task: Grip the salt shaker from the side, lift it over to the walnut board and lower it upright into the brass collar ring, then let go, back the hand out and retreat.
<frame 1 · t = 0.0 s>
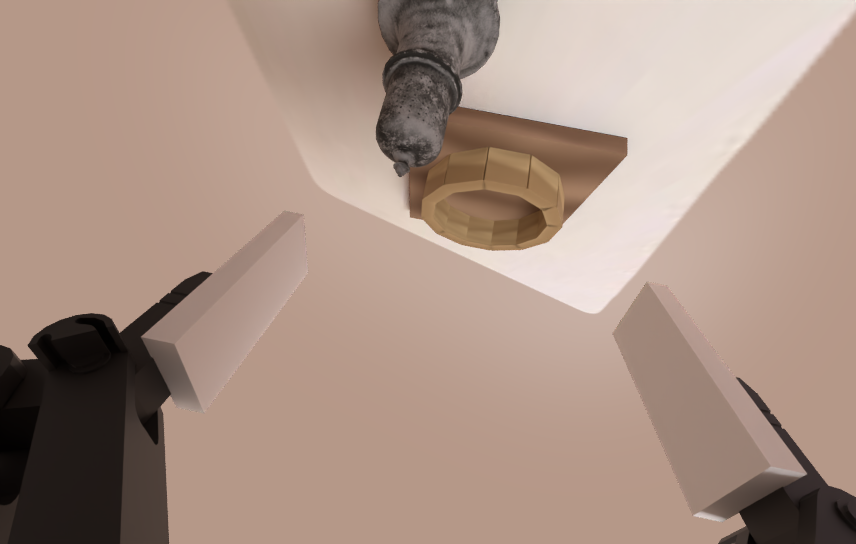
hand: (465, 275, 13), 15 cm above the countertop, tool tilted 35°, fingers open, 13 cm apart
collar stand: (494, 180, 32), on the countertop
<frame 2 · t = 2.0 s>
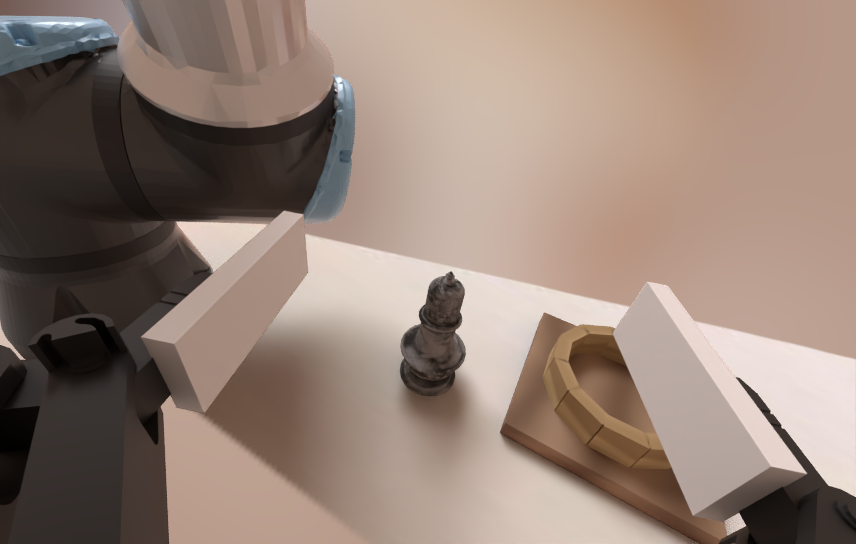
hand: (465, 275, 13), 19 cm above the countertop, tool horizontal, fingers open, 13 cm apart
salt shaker: (427, 372, 32), on the countertop
collar stand: (604, 406, 32), on the countertop
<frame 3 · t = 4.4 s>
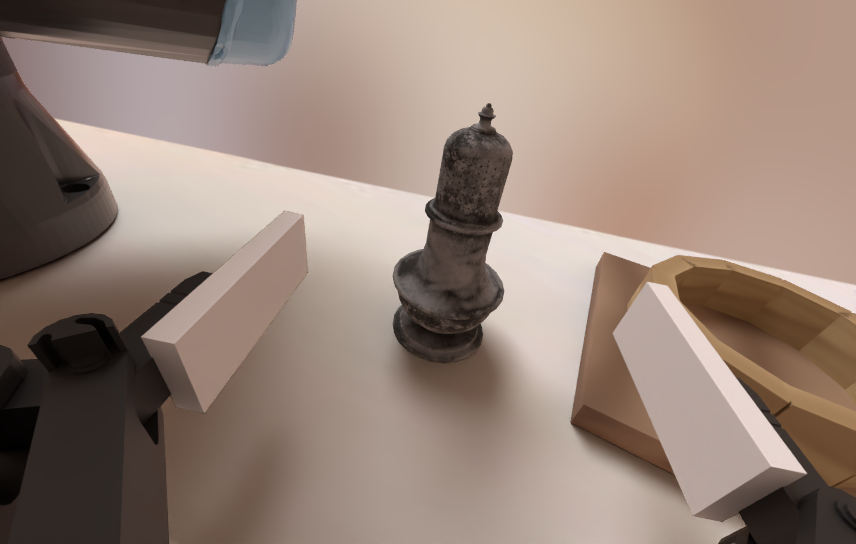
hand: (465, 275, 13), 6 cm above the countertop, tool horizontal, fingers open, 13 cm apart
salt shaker: (437, 328, 20), on the countertop
collar stand: (726, 380, 20), on the countertop
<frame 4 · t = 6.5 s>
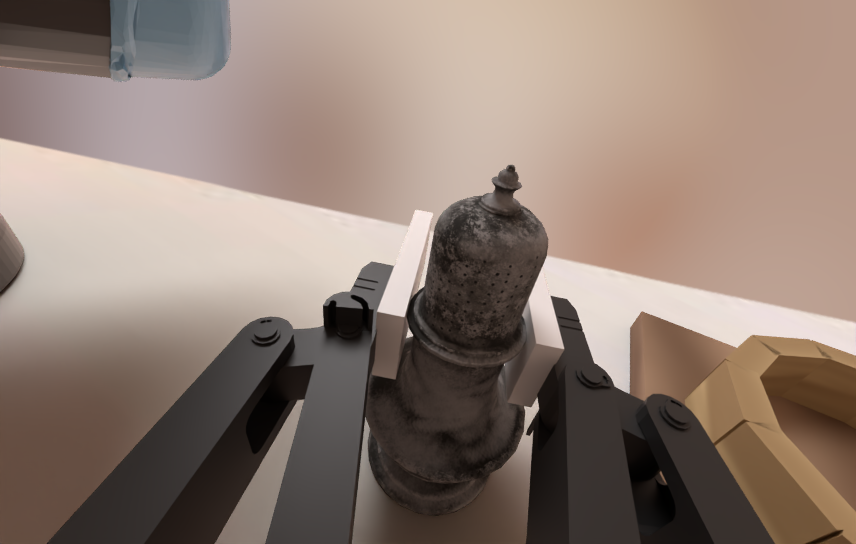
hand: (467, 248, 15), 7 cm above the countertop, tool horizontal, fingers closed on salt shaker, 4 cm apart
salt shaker: (430, 444, 14), on the countertop, touching gripper
collar stand: (831, 522, 14), on the countertop
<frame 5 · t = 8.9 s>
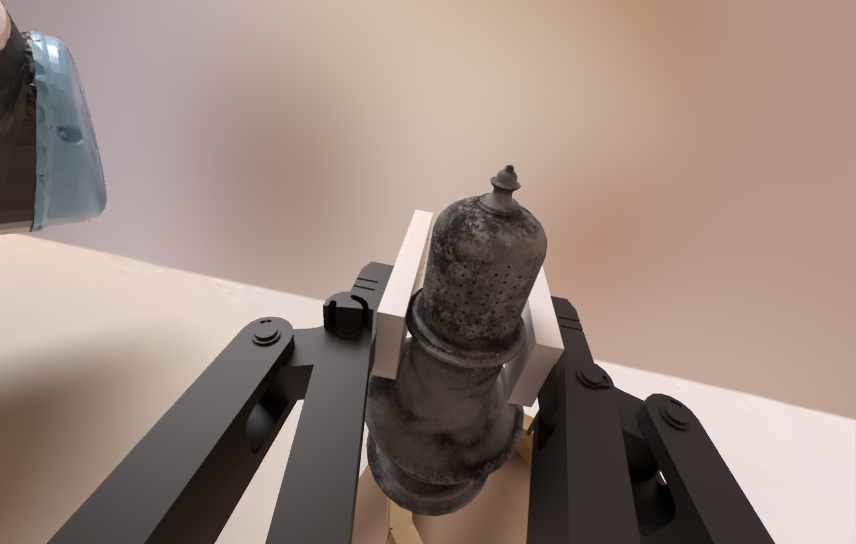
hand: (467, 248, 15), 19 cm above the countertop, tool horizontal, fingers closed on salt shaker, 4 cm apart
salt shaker: (428, 445, 14), point 12 cm above the countertop, touching gripper
collar stand: (476, 519, 23), on the countertop
when the fingers open (9 cm above the countertop, at t = 11.1 s): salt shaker drops 1 cm, resting on collar stand.
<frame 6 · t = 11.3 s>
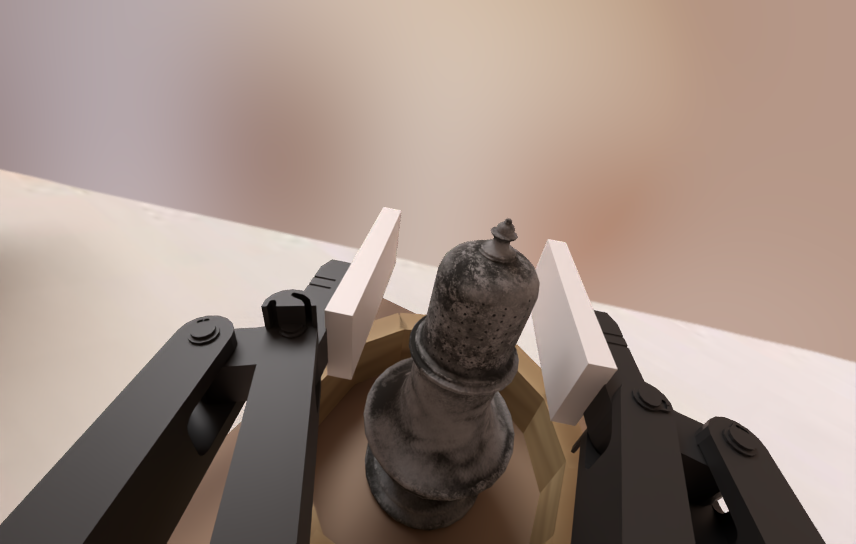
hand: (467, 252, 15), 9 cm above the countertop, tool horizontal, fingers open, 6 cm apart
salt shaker: (423, 461, 15), point 1 cm above the countertop, touching collar stand
collar stand: (421, 473, 16), on the countertop
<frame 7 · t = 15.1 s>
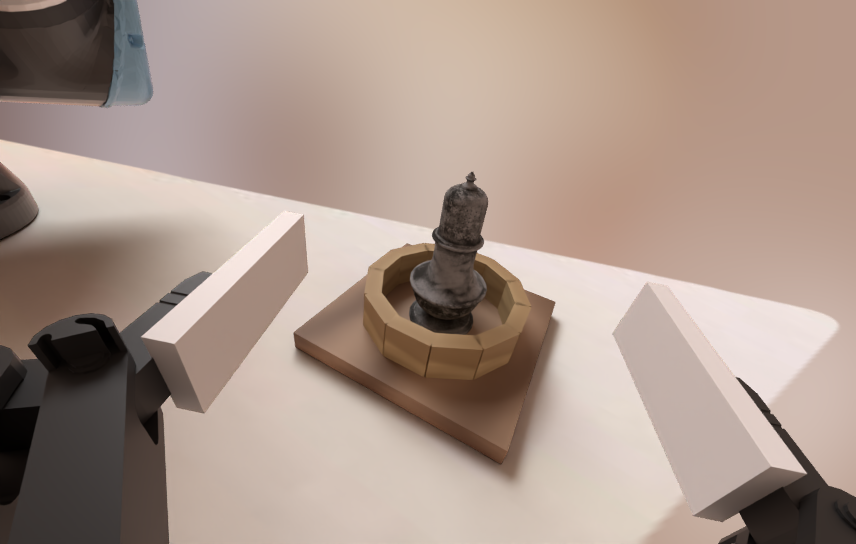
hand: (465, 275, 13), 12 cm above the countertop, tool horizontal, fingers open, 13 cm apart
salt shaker: (440, 317, 28), point 1 cm above the countertop, touching collar stand
collar stand: (439, 328, 28), on the countertop
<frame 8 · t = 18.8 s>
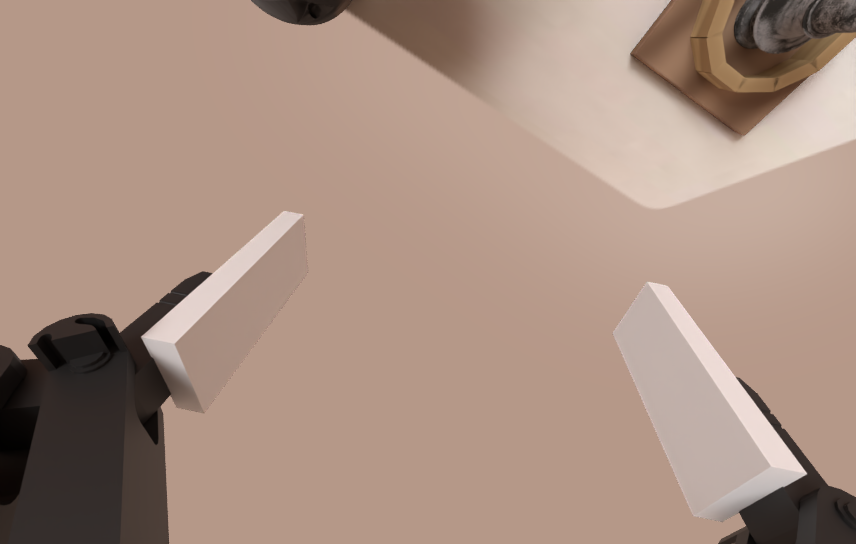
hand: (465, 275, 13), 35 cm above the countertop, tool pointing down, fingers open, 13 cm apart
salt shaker: (765, 15, 32), point 1 cm above the countertop, touching collar stand
collar stand: (757, 15, 33), on the countertop
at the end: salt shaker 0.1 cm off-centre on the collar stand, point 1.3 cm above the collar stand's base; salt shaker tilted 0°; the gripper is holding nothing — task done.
